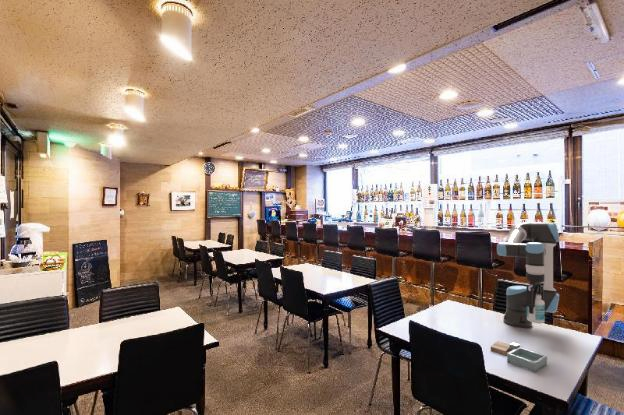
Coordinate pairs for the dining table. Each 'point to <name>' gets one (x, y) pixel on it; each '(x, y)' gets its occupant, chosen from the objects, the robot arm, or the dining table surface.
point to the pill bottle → (538, 310)
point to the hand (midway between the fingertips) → (535, 317)
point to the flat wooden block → (501, 347)
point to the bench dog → (514, 346)
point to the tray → (527, 359)
